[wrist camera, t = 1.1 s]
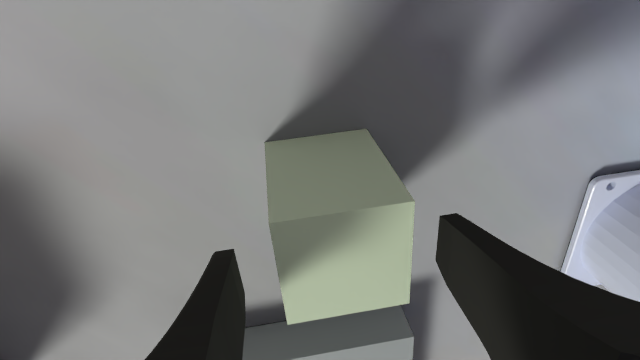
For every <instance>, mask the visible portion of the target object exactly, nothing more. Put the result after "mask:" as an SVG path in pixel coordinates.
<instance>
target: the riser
mask: <svg viewBox="0 0 640 360" xmlns="http://www.w3.org/2000/svg"><path fill="white" fill-rule="evenodd" d="M413 346H414V335H413V333H412V331H411V328H410V326H409V324H408V321H407V319H406V317H405V314H404V312H403V309H402V307H401V305H398V306H392V307H386V308H381V309H375V310H369V311H363V312H358V313H352V314H346V315H341V316H335V317H329V318H324V319H318V320H312V321H307V322H301V323H295V324H290V325H287V321H284V322H278V323H272V324H267V325H261V326H255V327H249V328H245V334H244V346H243V357H242V360H413Z"/></svg>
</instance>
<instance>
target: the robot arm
mask: <svg viewBox="0 0 640 360" xmlns="http://www.w3.org/2000/svg"><path fill="white" fill-rule="evenodd" d="M436 262H437V264H438V267H439V269H440V271H441V274H442V276H443V278H444V280H445V282H446V284H447V286H448V288H449V290H450V291H451V293H452V295H453V296H454V298H455V300H456V301H457V303H458V304H459V306H460V308H461V309H462V311H463V312H464V314H465V316H466V317H467V319H468V320H469V322H470V324H471V325H472V327H473V329H474V330H475V332H476V333H477V335H478V337H479V338H480V340H481V342H482V343H483V345H484V347H485V349H486V350H487V352H488V354H489V356H490V358H491V360H640V170H636V171H629V172H623V173H616V174H610V175H603V176H598V177H595V178H594V179H592V180H591V182H590V183H589V185H588V188H587V191H586V194H585V197H584V201H583V204H582V207H581V210H580V213H579V216H578V219H577V222H576V226H575V229H574V232H573V235H572V238H571V241H570V244H569V247H568V251H567V254H566V257H565V260H564V263H563V266H562V269H561V272H560V271H557V270H555V269H553V268H551V267H549V266H547V265H545V264H543V263H541V262H539V261H537V260H535V259H533V258H531V257H529V256H527V255H526V254H524V253H522V252H520V251H518V250H517V249H515V248H513V247H511V246H510V245H508V244H506V243H504V242H503V241H501V240H499V239H498V238H496V237H495V236H493V235H491V234H490V233H488V232H486V231H485V230H483V229H482V228H480V227H478V226H477V225H475V224H474V223H472V222H470V221H469V220H467V219H466V218H464V217H462V216H461V215H459V214H457V213H455V214H449V215H442V216H440V220H439V230H438V241H437V251H436ZM601 284H602V285H603V286H604V287H605V288H606V289H607V290H608V291H609V292H608V291H606V290H603V289H600V288H598V287H595V285H601ZM244 334H245V292H244V288H243V284H242V280H241V276H240V272H239V268H238V264H237V261H236V257H235V253H234V249H230V250H223V251H217V252H215V253H214V254H213V255H212V257H211V259H210V261H209V263H208V265H207V267H206V269H205V271H204V273H203V275H202V277H201V279H200V280H199V282H198V284H197V286H196V288H195V289H194V291H193V293H192V294H191V296H190V298H189V299H188V301H187V303H186V304H185V306H184V307H183V309H182V310H181V312H180V313H179V315H178V317H177V318H176V320H175V321H174V323H173V324H172V325H171V327H170V328H169V330H168V331H167V332H166V334H165V335H164V336H163V338H162V339H161V340H160V342H159V343H158V344H157V346H156V347H155V348H154V349H153V351H152V352H151V353H150V354H149V355H148V357H147V358H146V359H145V360H242V357H243V346H244Z"/></svg>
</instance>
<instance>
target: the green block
mask: <svg viewBox="0 0 640 360" xmlns="http://www.w3.org/2000/svg"><path fill="white" fill-rule="evenodd" d="M265 159H266V179H267V198H268V217H269V227H270V233H271V238H272V243H273V249H274V254H275V260H276V265H277V271H278V276H279V282H280V287H281V292H282V298H283V303H284V309H285V314H286V320H287V325H290V324H295V323H301V322H307V321H312V320H318V319H324V318H329V317H335V316H341V315H346V314H352V313H358V312H363V311H369V310H375V309H381V308H386V307H392V306H398V305H403V304H409V301H410V282H411V264H412V245H413V226H414V207H415V201H414V199H413V198H412V196H411V195H410V193H409V192H408V190H407V189H406V187H405V186H404V184H403V183H402V181H401V180H400V178H399V177H398V175H397V174H396V172H395V171H394V169H393V168H392V166H391V165H390V163H389V162H388V160H387V159H386V157H385V156H384V154H383V153H382V151H381V150H380V148H379V147H378V145H377V144H376V142H375V141H374V139H373V138H372V136H371V135H370V133H369V132H368V130H367V129H360V130H353V131H346V132H338V133H331V134H323V135H316V136H308V137H301V138H293V139H286V140H279V141H271V142H265Z"/></svg>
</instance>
